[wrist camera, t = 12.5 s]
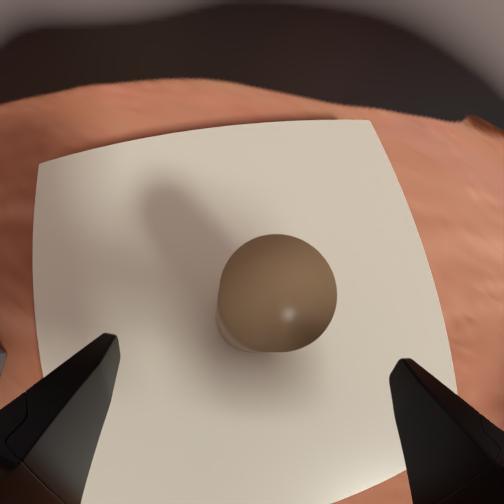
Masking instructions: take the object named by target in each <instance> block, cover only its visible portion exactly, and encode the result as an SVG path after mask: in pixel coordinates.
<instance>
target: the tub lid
mask: <svg viewBox="0 0 504 504" xmlns="http://www.w3.org/2000/svg"><path fill="white" fill-rule="evenodd" d="M33 292H34V308H35V320H36V330H37V338H38V346H39V353H40V360H41V366H42V372H43V377H45V376H46V375H48V374H49V373H50V372H52V371H53V370H54V369H56V368H57V367H58V366H60V365H61V364H62V363H64V362H65V361H66V360H68V359H69V358H70V357H72V356H73V355H74V354H76V353H77V352H78V351H80V350H81V349H82V348H84V347H85V346H86V345H88V344H89V343H90V342H92V341H93V340H94V339H96V338H97V337H99V336H100V335H101V334H103V333H110V334H115V335H117V337H118V342H119V348H120V363H119V367H118V372H117V376H116V381H115V385H114V390H113V394H112V399H111V403H110V406H109V410H108V413H107V416H106V419H105V422H104V425H103V428H102V431H101V434H100V437H99V440H98V444H97V447H96V450H95V453H94V457H93V460H92V464H91V467H90V470H89V474H88V478H87V481H86V485H85V489H84V492H83V496H82V500H81V504H331V503H334V502H336V501H339V500H342V499H344V498H347V497H349V496H352V495H354V494H356V493H359V492H361V491H363V490H366V489H368V488H370V487H372V486H374V485H377V484H379V483H381V482H383V481H385V480H387V479H389V478H391V477H393V476H395V475H397V474H399V473H401V472H403V471H405V470H406V465H405V460H404V455H403V451H402V447H401V442H400V438H399V434H398V430H397V426H396V421H395V416H394V410H393V403H392V397H391V391H390V385H389V376H390V373H391V372H392V370H393V368H394V367H395V365H396V363H397V362H398V360H399V359H401V358H411V359H413V360H414V361H415V362H416V363H418V364H419V365H420V366H421V367H423V368H424V369H425V370H427V371H428V372H429V373H430V374H432V375H433V376H434V377H435V378H437V379H438V380H439V381H440V382H442V383H443V384H444V385H445V386H447V387H448V388H449V389H450V390H452V391H453V392H454V393H455V394H457V388H456V381H455V374H454V368H453V362H452V357H451V351H450V346H449V341H448V337H447V332H446V327H445V323H444V319H443V315H442V310H441V306H440V303H439V299H438V295H437V291H436V288H435V284H434V280H433V277H432V274H431V270H430V267H429V264H428V261H427V257H426V254H425V251H424V248H423V245H422V242H421V239H420V236H419V233H418V231H417V228H416V225H415V222H414V220H413V217H412V214H411V212H410V209H409V206H408V204H407V201H406V199H405V196H404V194H403V191H402V189H401V186H400V184H399V182H398V179H397V177H396V175H395V172H394V170H393V168H392V166H391V163H390V161H389V159H388V157H387V155H386V153H385V150H384V148H383V146H382V144H381V142H380V140H379V138H378V136H377V134H376V132H375V130H374V128H373V126H372V124H371V122H370V120H303V121H281V122H266V123H253V124H241V125H231V126H222V127H213V128H205V129H198V130H190V131H183V132H177V133H171V134H164V135H159V136H153V137H147V138H142V139H137V140H132V141H127V142H122V143H117V144H113V145H108V146H104V147H99V148H95V149H91V150H87V151H83V152H79V153H75V154H71V155H68V156H64V157H60V158H57V159H53V160H50V161H46V162H43V163H40V164H39V169H38V176H37V185H36V195H35V207H34V222H33Z"/></svg>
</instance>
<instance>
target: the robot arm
mask: <svg viewBox="0 0 504 504" xmlns="http://www.w3.org/2000/svg"><path fill="white" fill-rule="evenodd" d="M119 363H120V348H119V342H118V337H117V335H115V334H110V333H103V334H101V335H100V336H99V337H97V338H96V339H94V340H93V341H92V342H90V343H89V344H88V345H86V346H85V347H84V348H82V349H81V350H80V351H78V352H77V353H76V354H74V355H73V356H72V357H70V358H69V359H68V360H66V361H65V362H64V363H62V364H61V365H60V366H58V367H57V368H56V369H54V370H53V371H52V372H50V373H49V374H48V375H46V376H45V377H44V378H42V379H41V380H40V381H38V382H37V383H36V384H34V385H33V386H32V387H30V388H29V389H28V390H27V391H26V393H25V392H24V393H22V394H21V395H20V396H19V397H17V398H16V399H15V400H13V401H12V402H10V403H9V404H8V405H6V406H5V407H3V408H2V409H0V504H81V500H82V496H83V492H84V489H85V485H86V481H87V478H88V474H89V470H90V467H91V464H92V460H93V457H94V453H95V450H96V447H97V444H98V440H99V437H100V434H101V431H102V428H103V425H104V422H105V419H106V416H107V413H108V410H109V406H110V403H111V399H112V394H113V390H114V385H115V381H116V376H117V372H118V367H119ZM389 385H390V391H391V397H392V403H393V410H394V416H395V421H396V426H397V430H398V434H399V438H400V442H401V447H402V451H403V455H404V460H405V465H406V469H407V474H408V479H409V484H410V490H411V495H412V501H413V504H504V431H502V430H501V429H499V428H498V427H497V426H495V425H494V424H493V423H491V422H490V421H489V420H488V419H486V418H485V417H484V416H483V415H481V414H479V412H478V411H476V410H475V409H474V408H473V407H472V406H470V405H469V404H468V403H467V402H465V401H464V400H463V399H462V398H460V397H459V396H458V395H457V394H455V393H454V392H453V391H452V390H450V389H449V388H448V387H447V386H445V385H444V384H443V383H442V382H440V381H439V380H438V379H437V378H435V377H434V376H433V375H432V374H430V373H429V372H428V371H427V370H425V369H424V368H423V367H421V366H420V365H419V364H418V363H416V362H415V361H414V360H413V359H411V358H401V359H399V360H398V362H397V363H396V365H395V367H394V368H393V370H392V372H391V373H390V376H389Z"/></svg>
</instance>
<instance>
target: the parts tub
mask: <svg viewBox="0 0 504 504" xmlns="http://www.w3.org/2000/svg"><path fill="white" fill-rule="evenodd" d="M6 355H7V353H6V352H5V351H3V350H2V349H1V348H0V375H1V372H2V368H3V365H4V362H5V358H6Z"/></svg>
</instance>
